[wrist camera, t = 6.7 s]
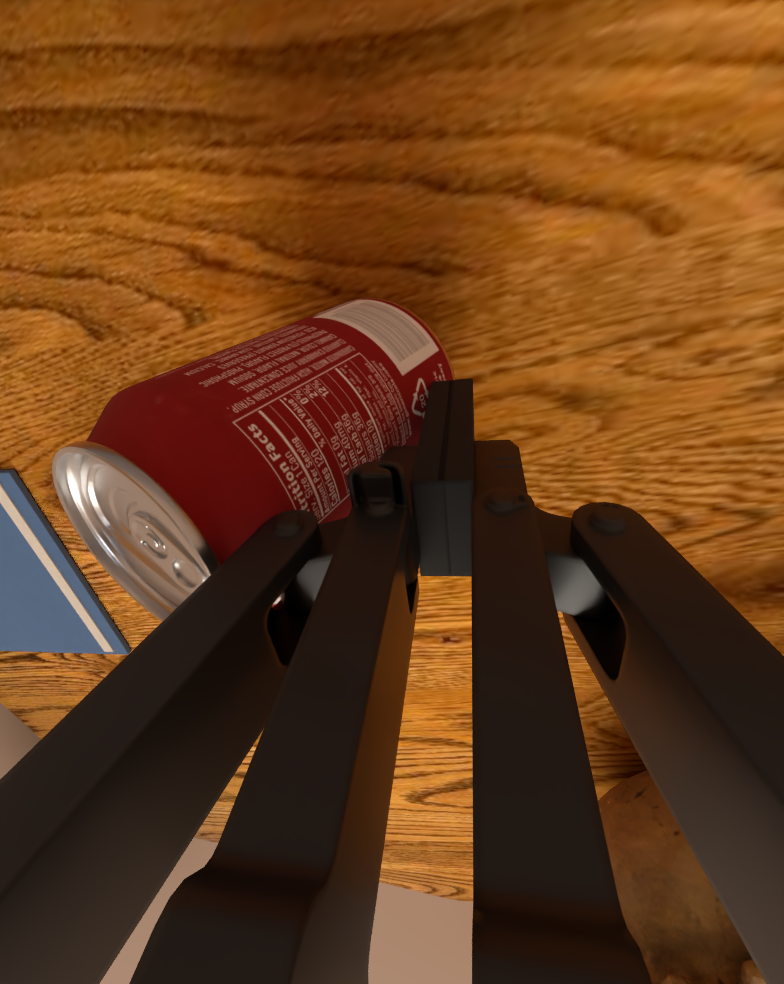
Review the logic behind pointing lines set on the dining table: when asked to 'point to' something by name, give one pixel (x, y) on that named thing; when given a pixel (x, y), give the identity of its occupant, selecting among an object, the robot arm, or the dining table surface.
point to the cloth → (45, 585)
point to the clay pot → (669, 893)
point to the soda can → (245, 443)
